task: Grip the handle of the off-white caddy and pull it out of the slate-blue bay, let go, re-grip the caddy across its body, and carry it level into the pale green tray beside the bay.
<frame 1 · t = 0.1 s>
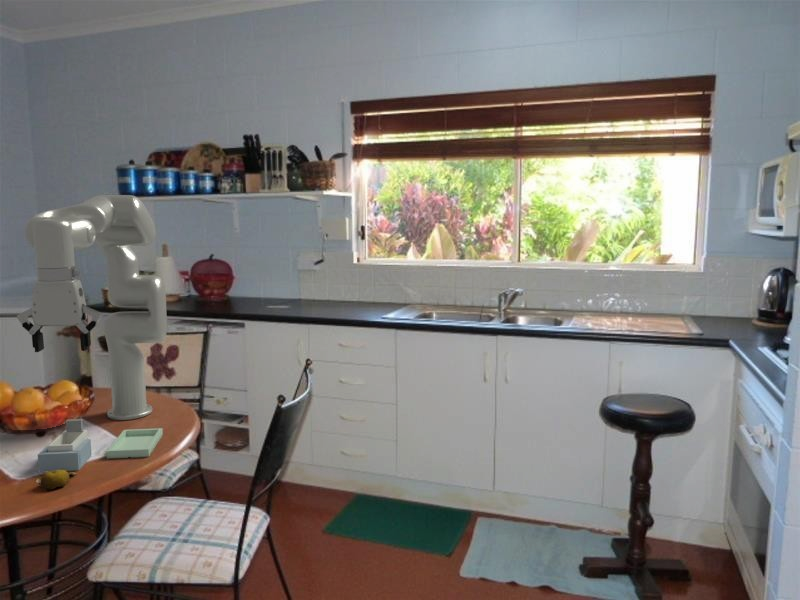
hand: (62, 350, 138), 31 cm above the table, tool pointing down, fingers open, 9 cm apart
bay: (69, 460, 153), on the table
fruit: (58, 483, 142), on the table
tray: (136, 446, 162), on the table
caddy: (70, 460, 153), on the table
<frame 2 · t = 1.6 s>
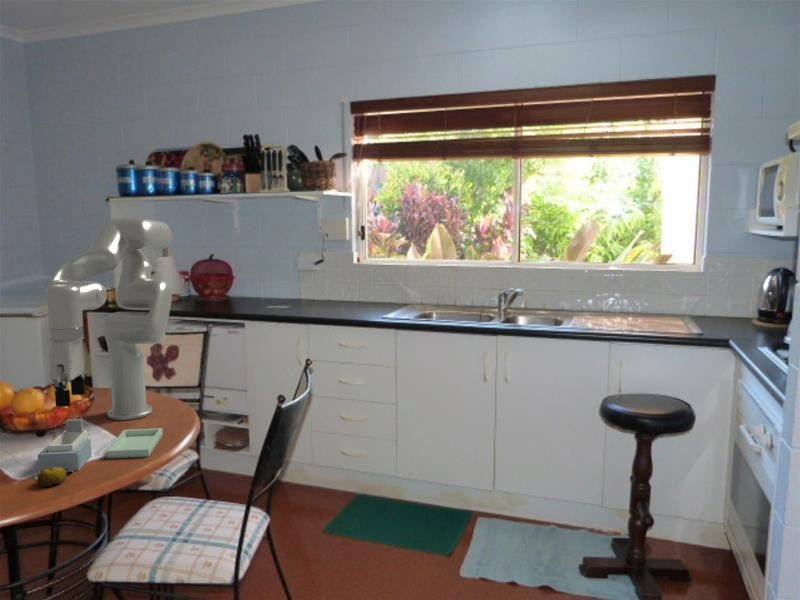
hand: (71, 400, 154), 14 cm above the table, tool pointing down, fingers open, 9 cm apart
fruit: (55, 480, 143), on the table
everything else where it was.
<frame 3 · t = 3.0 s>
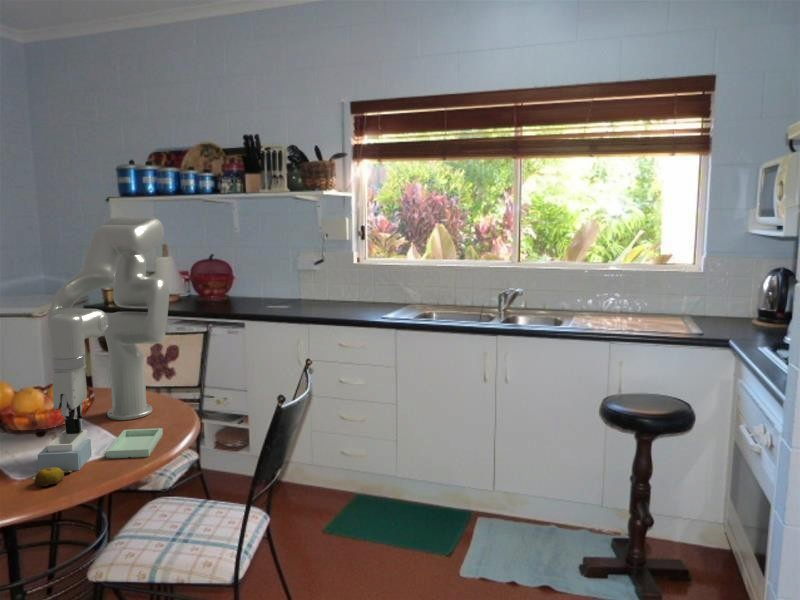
hand: (74, 431, 156), 6 cm above the table, tool pointing down, fingers closed on caddy
caddy: (69, 460, 153), on the table, touching gripper
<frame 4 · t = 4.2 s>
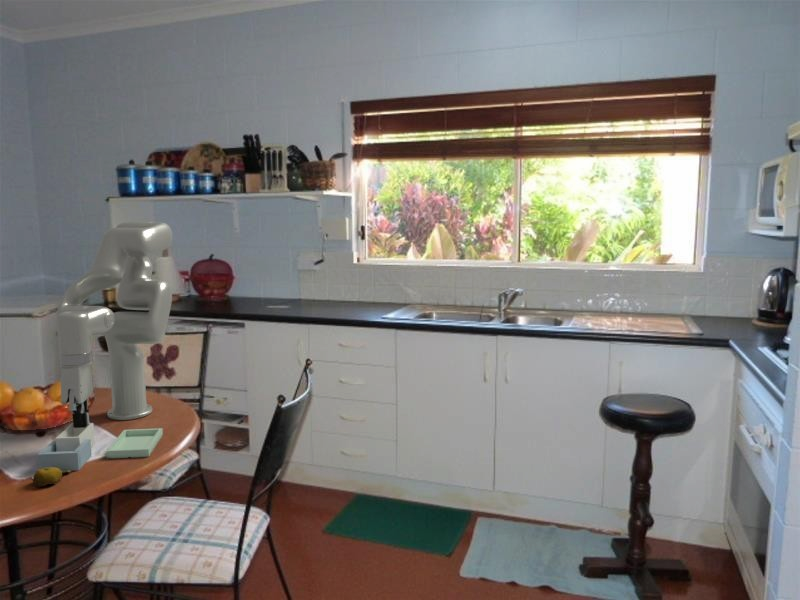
hand: (81, 425, 161), 6 cm above the table, tool pointing down, fingers closed on caddy
caddy: (76, 452, 157), on the table, touching gripper
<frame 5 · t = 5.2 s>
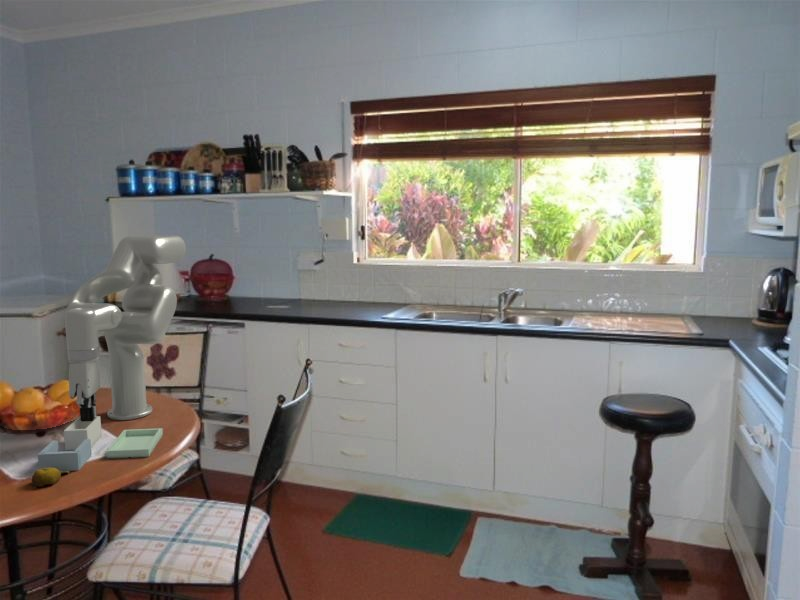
hand: (88, 419, 166), 6 cm above the table, tool pointing down, fingers closed
caddy: (84, 444, 163), on the table, touching gripper
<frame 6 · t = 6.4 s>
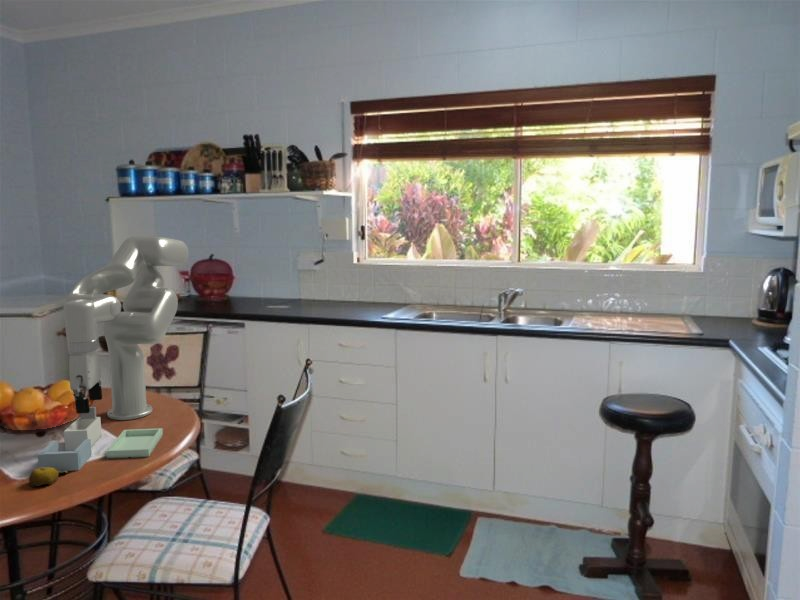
hand: (89, 406, 166), 9 cm above the table, tool pointing down, fingers open, 9 cm apart
caddy: (84, 445, 163), on the table
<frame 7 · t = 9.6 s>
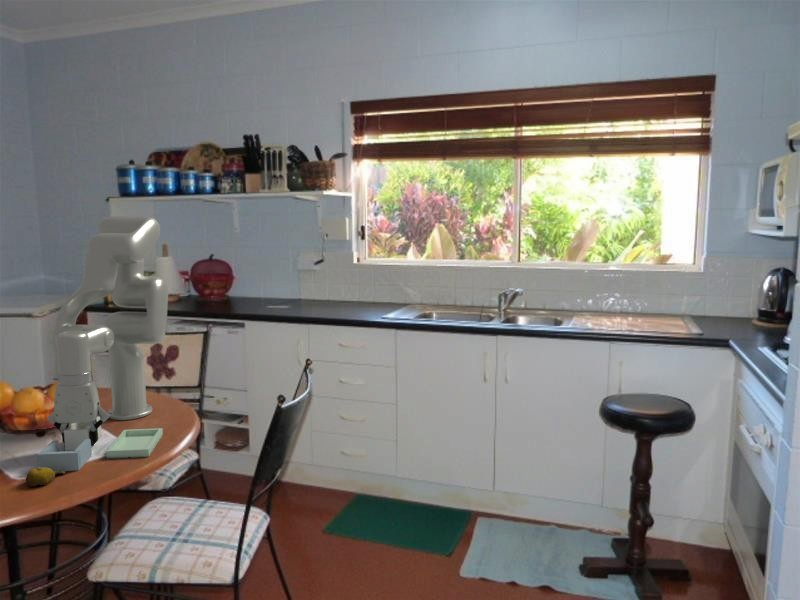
hand: (80, 444, 160), 1 cm above the table, tool pointing down, fingers closed on caddy, 5 cm apart
caddy: (84, 444, 162), on the table, touching gripper
when the fingers open (3 cm above the table, at t = 15.4 s): caddy drops 1 cm, resting on tray.
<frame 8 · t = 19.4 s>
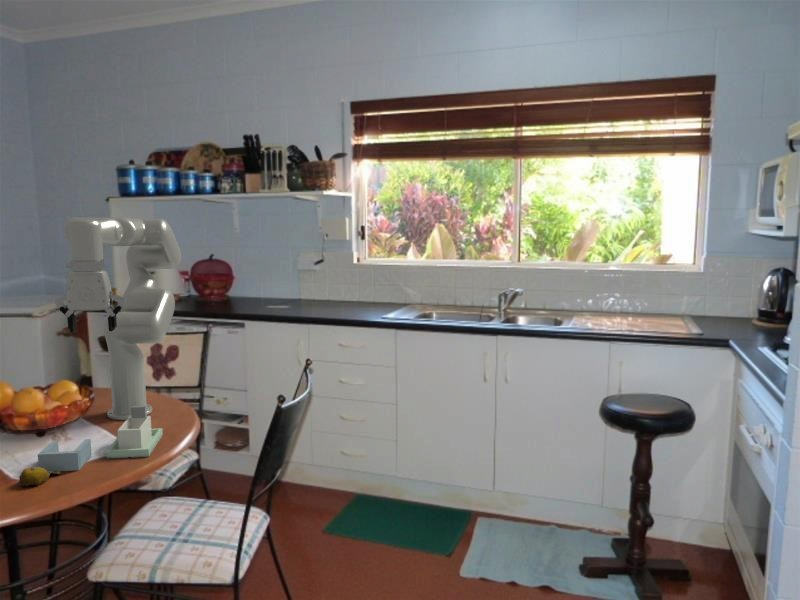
hand: (92, 330, 162), 30 cm above the table, tool pointing down, fingers open, 9 cm apart
fruit: (40, 480, 143), on the table
caddy: (135, 444, 162), resting on tray
at the end: caddy 0.0 cm off-centre on the tray, point 0.5 cm above the tray's base; caddy tilted 0°; the gripper is holding nothing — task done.
